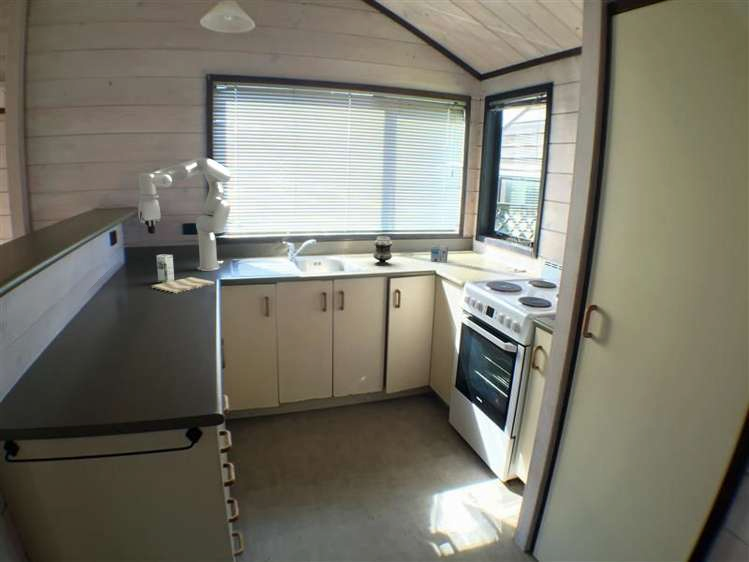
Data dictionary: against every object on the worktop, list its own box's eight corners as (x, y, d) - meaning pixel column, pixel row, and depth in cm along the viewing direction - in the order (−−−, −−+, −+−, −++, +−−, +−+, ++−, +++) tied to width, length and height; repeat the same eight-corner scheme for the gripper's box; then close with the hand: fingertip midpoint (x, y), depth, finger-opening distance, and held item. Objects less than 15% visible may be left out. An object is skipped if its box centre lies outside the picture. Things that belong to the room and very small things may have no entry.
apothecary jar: (391, 266, 305) (392, 238, 301) (372, 266, 305) (373, 238, 301) (391, 262, 316) (392, 236, 312) (373, 262, 317) (374, 235, 312)
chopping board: (191, 279, 258) (191, 277, 258) (214, 283, 249) (214, 281, 249) (151, 288, 238) (151, 285, 237) (175, 293, 229) (175, 291, 229)
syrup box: (157, 282, 248) (155, 255, 245) (166, 280, 254) (164, 253, 250) (166, 284, 246) (164, 256, 243) (174, 281, 252) (172, 254, 248)
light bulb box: (430, 261, 324) (431, 246, 322) (432, 259, 331) (432, 244, 328) (445, 262, 321) (446, 247, 319) (447, 261, 328) (448, 245, 325)
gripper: (156, 196, 252) (159, 231, 256) (130, 198, 240) (133, 234, 244) (166, 197, 249) (168, 232, 253) (139, 198, 236) (143, 235, 240)
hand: (151, 233), depth 248 cm, fingers closed
